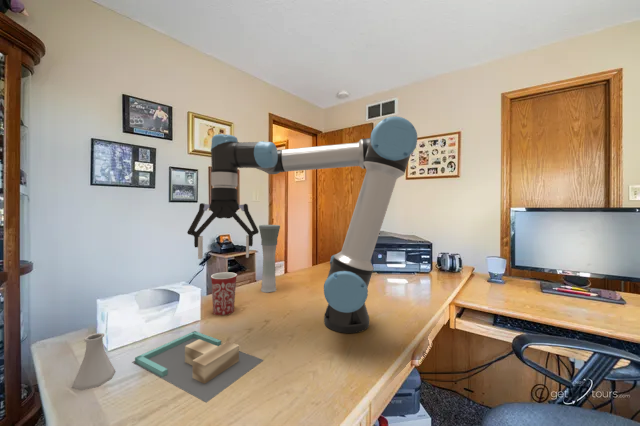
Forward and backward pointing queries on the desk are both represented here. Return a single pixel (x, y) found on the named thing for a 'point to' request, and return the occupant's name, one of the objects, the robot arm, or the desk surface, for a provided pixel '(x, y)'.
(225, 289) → the mug
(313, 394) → the desk surface
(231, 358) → the tee block
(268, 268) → the container
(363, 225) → the robot arm
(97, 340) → the flask
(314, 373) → the desk surface
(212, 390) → the mat
